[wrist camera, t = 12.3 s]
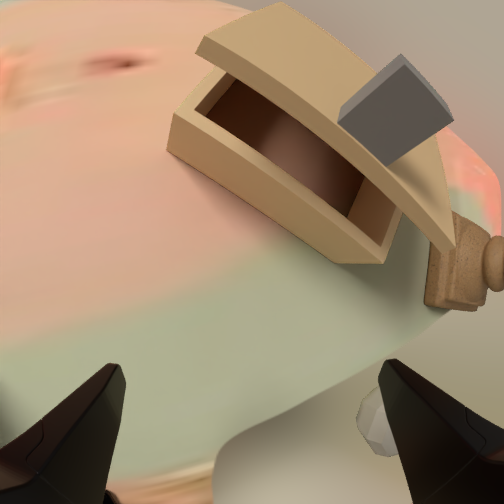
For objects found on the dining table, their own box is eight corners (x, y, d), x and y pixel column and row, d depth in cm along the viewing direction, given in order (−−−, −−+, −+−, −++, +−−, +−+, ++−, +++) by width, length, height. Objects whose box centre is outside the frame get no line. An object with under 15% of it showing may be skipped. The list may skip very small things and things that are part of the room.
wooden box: (334, 263, 25) (383, 263, 19) (166, 150, 20) (173, 112, 15) (380, 157, 27) (424, 140, 21) (247, 53, 23) (273, 12, 17)
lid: (441, 253, 14) (514, 220, 10) (194, 53, 10) (253, -43, 6) (426, 140, 21) (469, 110, 17) (273, 10, 17) (311, -36, 12)
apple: (342, 448, 25) (381, 479, 19) (338, 388, 25) (385, 415, 18) (398, 416, 27) (438, 437, 21) (399, 358, 27) (447, 373, 21)
